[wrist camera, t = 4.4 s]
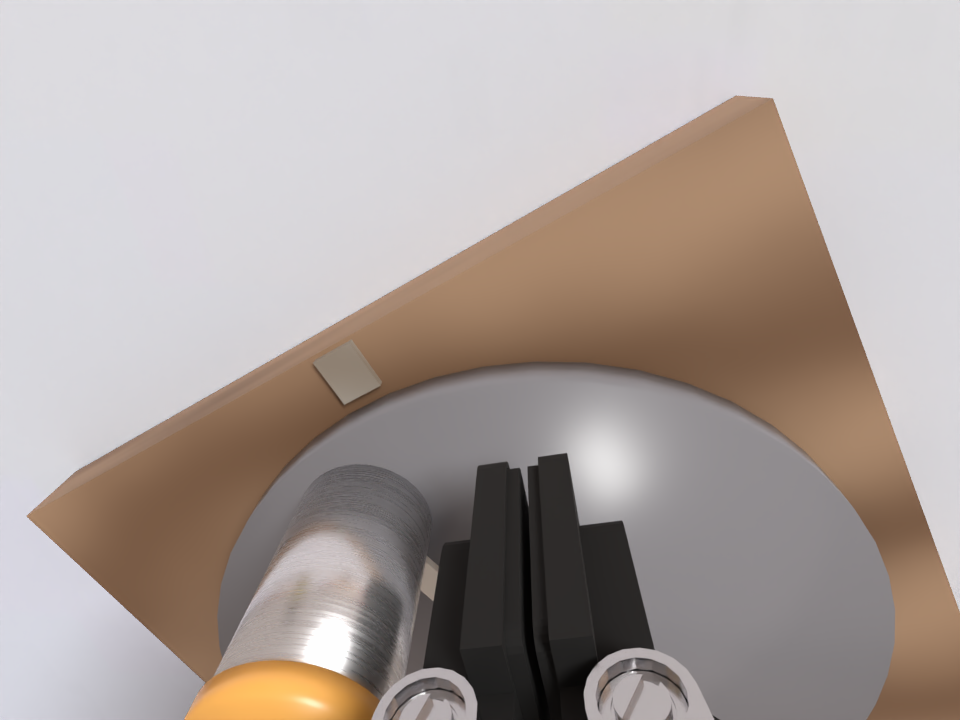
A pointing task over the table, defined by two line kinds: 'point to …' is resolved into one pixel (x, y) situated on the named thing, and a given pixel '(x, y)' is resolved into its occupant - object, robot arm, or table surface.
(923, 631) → the dial board
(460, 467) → the dial
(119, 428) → the table surface
